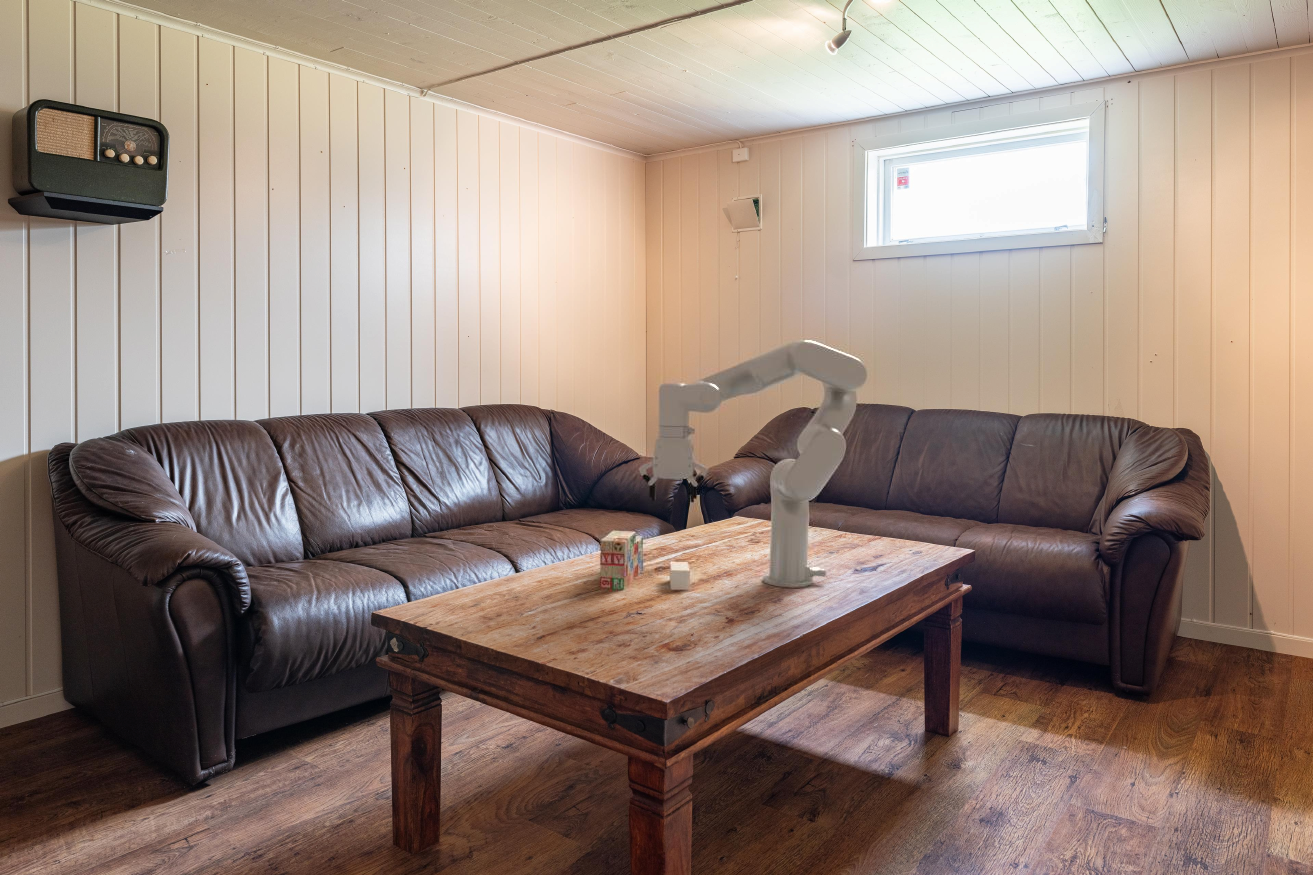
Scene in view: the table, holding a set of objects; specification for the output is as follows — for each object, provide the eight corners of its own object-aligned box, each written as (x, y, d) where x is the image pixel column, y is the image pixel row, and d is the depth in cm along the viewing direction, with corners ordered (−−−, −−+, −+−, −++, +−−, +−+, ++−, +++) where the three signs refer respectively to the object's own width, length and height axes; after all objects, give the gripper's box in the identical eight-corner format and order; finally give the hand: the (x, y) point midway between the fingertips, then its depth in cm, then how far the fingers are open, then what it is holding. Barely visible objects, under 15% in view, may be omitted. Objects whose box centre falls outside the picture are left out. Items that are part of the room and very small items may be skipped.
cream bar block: (687, 581, 223) (687, 562, 222) (689, 590, 214) (689, 570, 214) (669, 580, 223) (670, 561, 222) (671, 590, 214) (671, 570, 213)
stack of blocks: (620, 568, 235) (621, 523, 234) (643, 570, 233) (644, 525, 232) (599, 588, 214) (600, 539, 213) (624, 590, 213) (625, 540, 211)
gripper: (709, 432, 219) (708, 499, 220) (640, 431, 220) (640, 498, 222) (708, 434, 211) (707, 504, 213) (637, 433, 213) (636, 502, 214)
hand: (673, 501), depth 217 cm, fingers open, 9 cm apart
